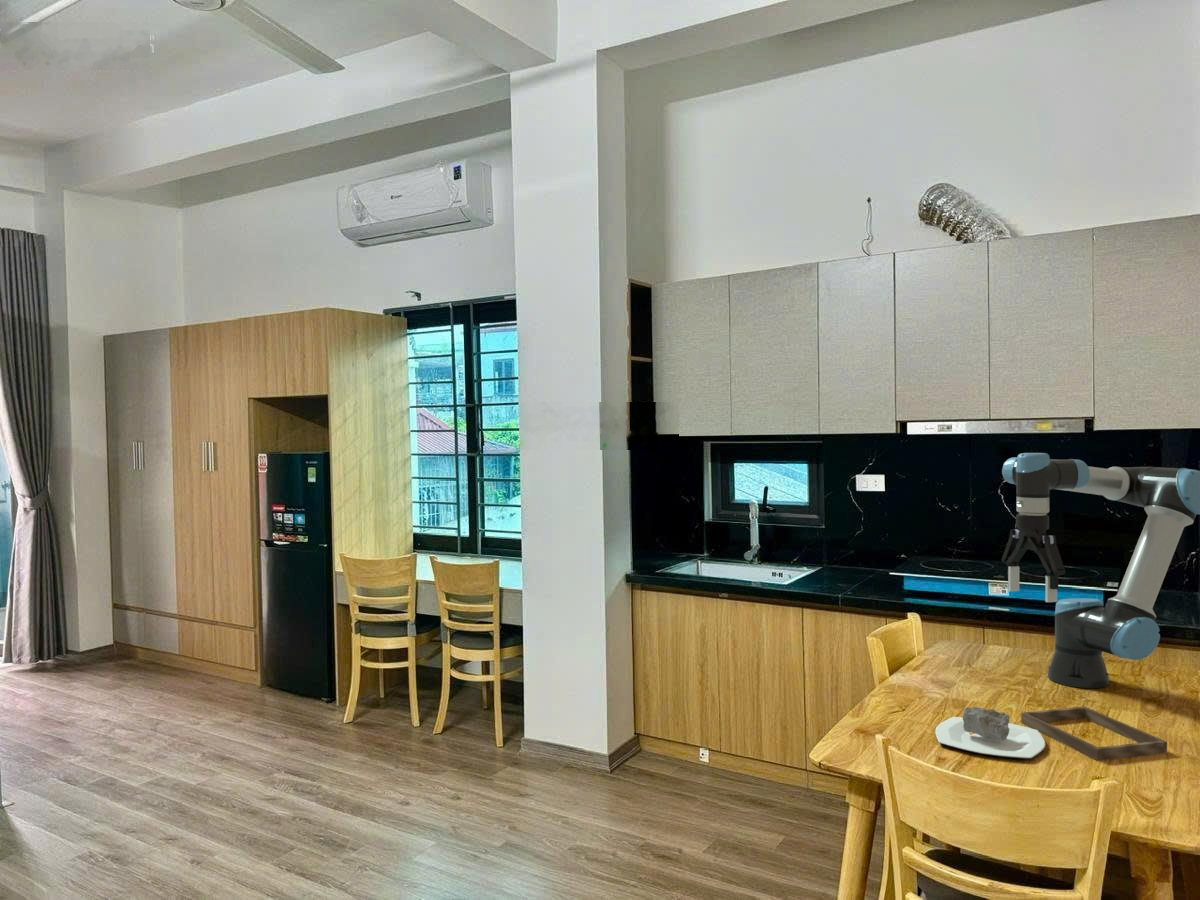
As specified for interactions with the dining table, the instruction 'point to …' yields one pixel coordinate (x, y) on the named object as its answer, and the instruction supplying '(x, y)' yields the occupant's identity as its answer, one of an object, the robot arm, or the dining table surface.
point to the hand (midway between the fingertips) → (1031, 596)
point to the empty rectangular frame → (1146, 741)
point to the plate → (991, 740)
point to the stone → (986, 723)
